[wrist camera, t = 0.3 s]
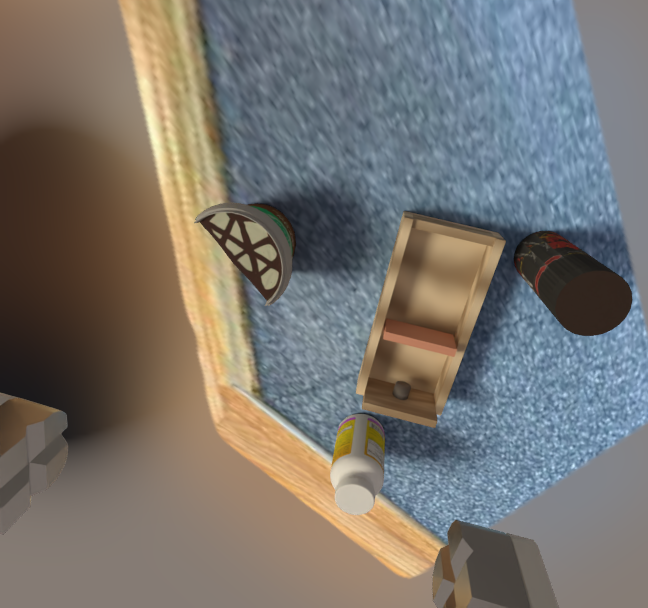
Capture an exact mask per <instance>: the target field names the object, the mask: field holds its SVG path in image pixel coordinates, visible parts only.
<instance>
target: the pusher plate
mask: <svg viewBox="0 0 648 608" xmlns="http://www.w3.org/2000/svg"><path fill="white" fill-rule="evenodd" d="M383 339H385V340H389V341H393V342H397V343H400V344H404V345H408V346H412V347H416V348H420V349H424V350H428V351H432V352H436V353H440V354H444V355H448V356H452V357H454V356H455V354H456V351H457V348H456V344H455V340H454V336H453V335H452V334H448V333H444V332H440V331H436V330H432V329H428V328H424V327H420V326H416V325H412V324H408V323H404V322H400V321H396V320H392V319H388V318H386V320H385V324H384V335H383Z"/></svg>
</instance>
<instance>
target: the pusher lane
mask: <svg viewBox="0 0 648 608" xmlns="http://www.w3.org/2000/svg"><path fill="white" fill-rule="evenodd" d="M505 242H506V241H505V240H504V239H503V237H502V236H501V235H500V234H499V233H497V232H493V231H488V230H484V229H480V228H475V227H471V226H467V225H462V224H458V223H454V222H450V221H445V220H441V219H437V218H432V217H428V216H424V215H420V214H415V213H411V212H407V211H404V212H403V216H402V219H401V223H400V227H399V230H398V234H397V238H396V241H395V245H394V249H393V252H392V256H391V260H390V263H389V267H388V271H387V274H386V278H385V282H384V285H383V289H382V292H381V296H380V300H379V303H378V307H377V311H376V314H375V318H374V322H373V325H372V329H371V333H370V336H369V340H368V344H367V347H366V351H365V355H364V358H363V362H362V366H361V369H360V373H359V377H358V383H357V389H356V393H357V394H361V395H363V404H362V409H364V410H368V411H372V412H376V413H379V414H383V415H387V416H391V417H395V418H399V419H402V420H406V421H410V422H414V423H418V424H421V425H425V426H429V427H433V428H435V427H436V424H437V415H436V414H438V415H441V414H442V411H443V408H444V406H445V403H446V400H447V398H448V395H449V392H450V390H451V387H452V384H453V382H454V379H455V376H456V374H457V371H458V368H459V366H460V363H461V360H462V358H463V355H464V352H465V350H466V347H467V344H468V341H469V339H470V336H471V333H472V331H473V328H474V325H475V323H476V320H477V317H478V315H479V312H480V309H481V307H482V304H483V301H484V299H485V296H486V293H487V291H488V288H489V285H490V283H491V280H492V277H493V275H494V272H495V269H496V266H497V264H498V261H499V258H500V256H501V253H502V250H503V248H504V245H505ZM386 318H388V319H392V320H396V321H400V322H404V323H408V324H412V325H416V326H420V327H424V328H428V329H432V330H436V331H440V332H444V333H448V334H452V335H453V336H454V340H455V344H456V348H457V351H456V354H455V356H454V357H452V356H448V355H444V354H440V353H436V352H432V351H428V350H424V349H420V348H416V347H412V346H408V345H404V344H400V343H397V342H393V341H389V340H385V339H383V335H384V324H385V320H386Z"/></svg>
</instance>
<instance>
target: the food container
mask: <svg viewBox="0 0 648 608" xmlns="http://www.w3.org/2000/svg"><path fill="white" fill-rule="evenodd" d="M195 220H196V221H195V222H194V223H198V222H200V223H201V224H202V225H203V226H204V228H205V229H206V230H207V231H208V232H209V233H210V234H211V235H212V236H213V238H214V239H215V240H216V241H217V242H218V244H219V245H220V246H221V247H222V249H223V250H224V251H225V253H226V254H227V256H228V257H229V258H230V259H231V261H232V262H233V263H234V264H235V265H236V267H237V268H238V269H239V270H240V271H241V272H242V273H243V274H244V275H245V276H246V277H247V278H248V279H249V280H250V281H251V282H252V284H253V285H254V286H255V287H256V288H257V289H258V291H259V292H260V293H261V294H262V295H263V297H264V298H265V299H266V300H267V302H266V305H267V304H268V306H269V305H271V304H273V303H274V302H275V301H276V300H278V299H279V298H280V296H281V295H282V294H283V293H284V291H285V289H286V287H287V286H288V283H289V280H290V278H291V272H292V258H293V256H294V251H295V246H296V240H295V232H294V230H293V228H292V225H291V223H290V222H289V220H288V219H287V218H286V216H285V215H284V214H283V213H281V212H280V211H279V210H277V209H275V208H274V207H271V206H269V205H265V204H248V205H245V204H240V203H223V204H218V205H215V206H212V207H210V208H208V209H206V210H204V211H203V212H202V213H200V214H199V215H198V216H197V217H196V219H195ZM266 305H265V306H266Z"/></svg>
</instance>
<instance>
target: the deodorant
mask: <svg viewBox="0 0 648 608" xmlns="http://www.w3.org/2000/svg"><path fill="white" fill-rule="evenodd" d="M514 264H515V267H516V269H517V271H518V272H519V274H520V275H521V276H522V277H523V279H524V280H525V281H526V282H527V283H528V285H529V286H530V287H531V288H532V289H533V291H534V292H535V293H536V294H537V296H538V297H539V298H540V299H541V300H542V302H543V303H544V304H545V305H546V307H547V308H548V309H549V310H550V311H551V313H552V314H553V315H554V316H555V317H556V319H557V320H558V321H559V322H560V324H561V325H562V326H563V327H564V328H565V329H567V330H568V331H570V332H572V333H574V334H578V335H582V336H594V335H599V334H603V333H606V332H608V331H610V330H612V329H614V328H615V327H616V326H618V325H619V324H620V323H621V322H622V321H623V320H624V319H625V318H626V316H627V314H628V313H629V311H630V309H631V304H632V292H631V289H630V287H629V285H628V283H627V282H626V281H625V280H624V279H623V278H622V277H620V276H619V275H618V274H616V273H615V272H613V271H612V270H610V269H609V268H607V267H606V266H604V265H603V264H601V263H600V262H598V261H597V260H595V259H594V258H593V257H591V256H590V255H588V254H587V253H585V252H584V251H582V250H581V249H579V248H578V247H576V246H575V245H573V244H572V243H571V242H569V241H568V240H566V239H565V238H563V237H562V236H560V235H558V234H557V233H554V232H550V231H539V232H535V233H533V234H531V235H529V236H527V237H526V238H524V239H523V240H522V241H521V242H520V244H519V245H518V246H517V248H516V251H515V254H514Z"/></svg>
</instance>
